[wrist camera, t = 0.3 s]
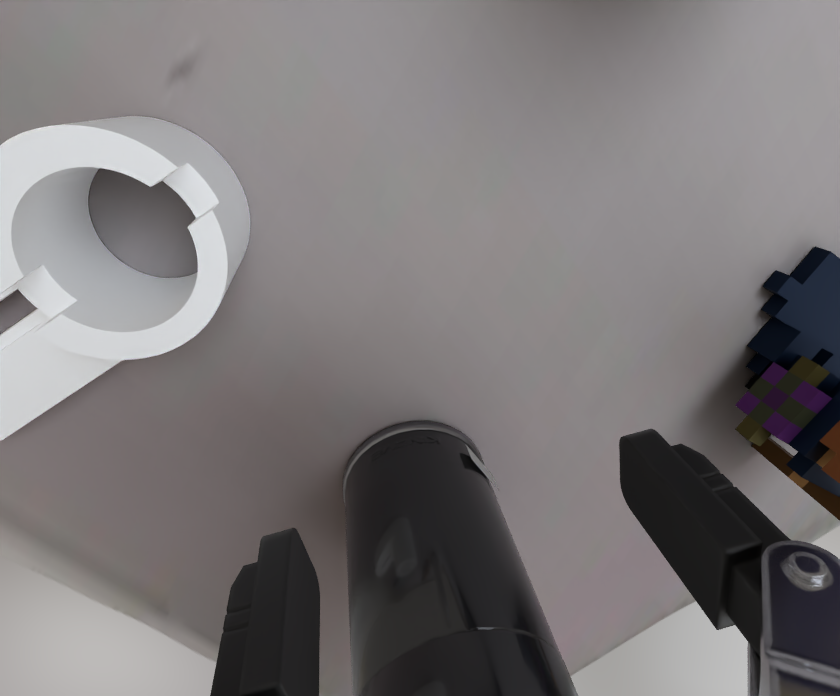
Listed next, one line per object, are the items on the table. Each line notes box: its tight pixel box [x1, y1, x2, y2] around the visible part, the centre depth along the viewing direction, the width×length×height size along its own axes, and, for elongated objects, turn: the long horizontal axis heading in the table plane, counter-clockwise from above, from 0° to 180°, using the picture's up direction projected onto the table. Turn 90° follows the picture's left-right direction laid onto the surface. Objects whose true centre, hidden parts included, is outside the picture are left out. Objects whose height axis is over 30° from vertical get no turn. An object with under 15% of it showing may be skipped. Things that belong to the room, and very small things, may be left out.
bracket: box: [0, 116, 250, 441], centre depth 23 cm, size 20×9×7 cm, turn 121°
